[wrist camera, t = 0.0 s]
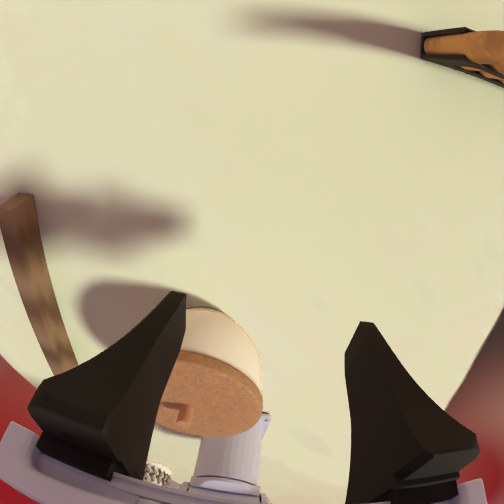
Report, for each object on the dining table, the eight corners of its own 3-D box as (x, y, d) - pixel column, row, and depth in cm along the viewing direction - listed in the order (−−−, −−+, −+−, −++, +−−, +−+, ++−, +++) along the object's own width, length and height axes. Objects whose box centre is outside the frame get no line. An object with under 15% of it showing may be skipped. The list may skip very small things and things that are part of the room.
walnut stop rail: (78, 364, 34) (68, 382, 31) (65, 359, 34) (55, 377, 31) (33, 195, 22) (11, 210, 20) (18, 193, 22) (-4, 208, 20)
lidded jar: (171, 369, 32) (147, 446, 24) (132, 288, 26) (85, 373, 18) (275, 368, 30) (269, 456, 22) (258, 279, 24) (245, 382, 16)
